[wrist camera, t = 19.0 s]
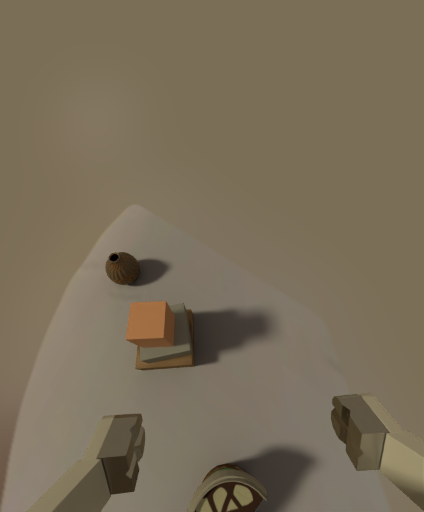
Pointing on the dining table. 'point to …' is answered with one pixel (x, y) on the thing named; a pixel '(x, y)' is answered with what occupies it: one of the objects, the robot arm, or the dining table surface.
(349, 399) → the robot arm
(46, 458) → the dining table surface
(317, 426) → the dining table surface
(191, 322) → the tower base block
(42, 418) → the dining table surface
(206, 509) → the food container
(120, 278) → the vase
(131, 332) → the terracotta block
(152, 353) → the tower top block
